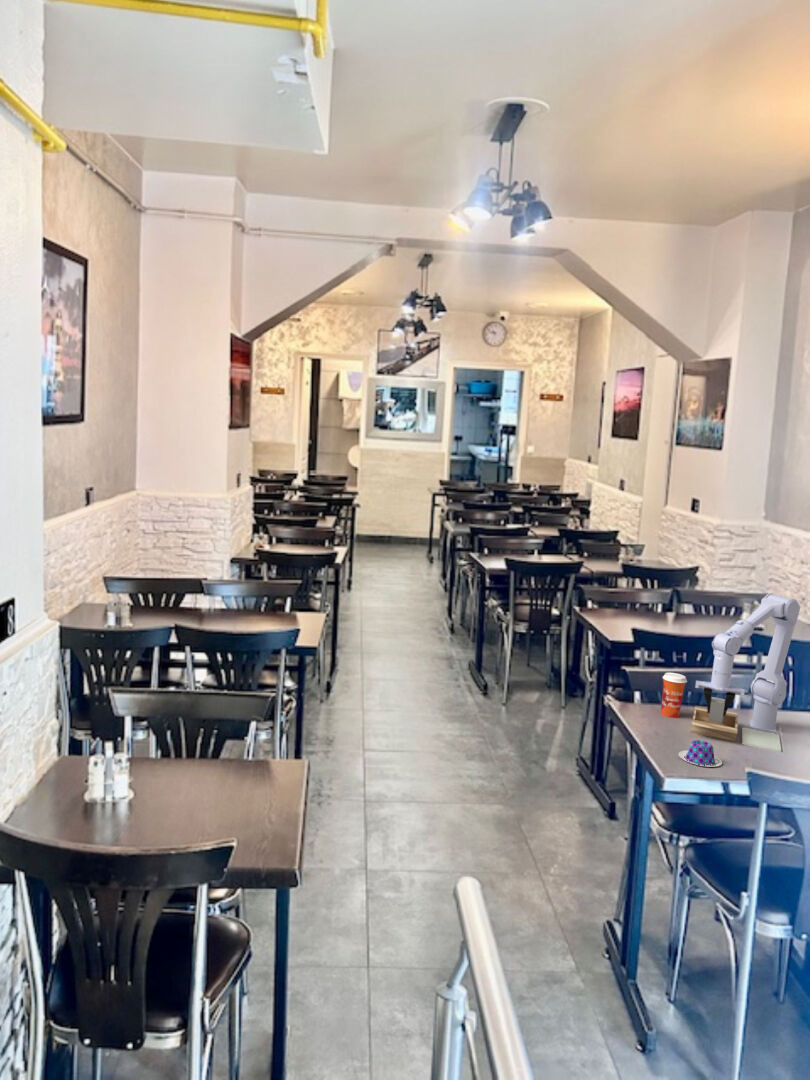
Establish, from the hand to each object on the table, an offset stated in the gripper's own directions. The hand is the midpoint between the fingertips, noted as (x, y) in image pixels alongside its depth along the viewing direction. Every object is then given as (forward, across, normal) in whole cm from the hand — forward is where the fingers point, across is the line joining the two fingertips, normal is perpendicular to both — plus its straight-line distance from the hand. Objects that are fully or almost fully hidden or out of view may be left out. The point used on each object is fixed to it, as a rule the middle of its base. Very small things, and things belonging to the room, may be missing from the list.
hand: (716, 713), depth 274 cm
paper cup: (+6, -14, +9) cm, 18 cm away
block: (+2, 0, +1) cm, 2 cm away
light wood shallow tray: (+6, 0, +1) cm, 6 cm away
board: (+6, +14, +1) cm, 15 cm away
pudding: (+7, -3, -28) cm, 29 cm away
